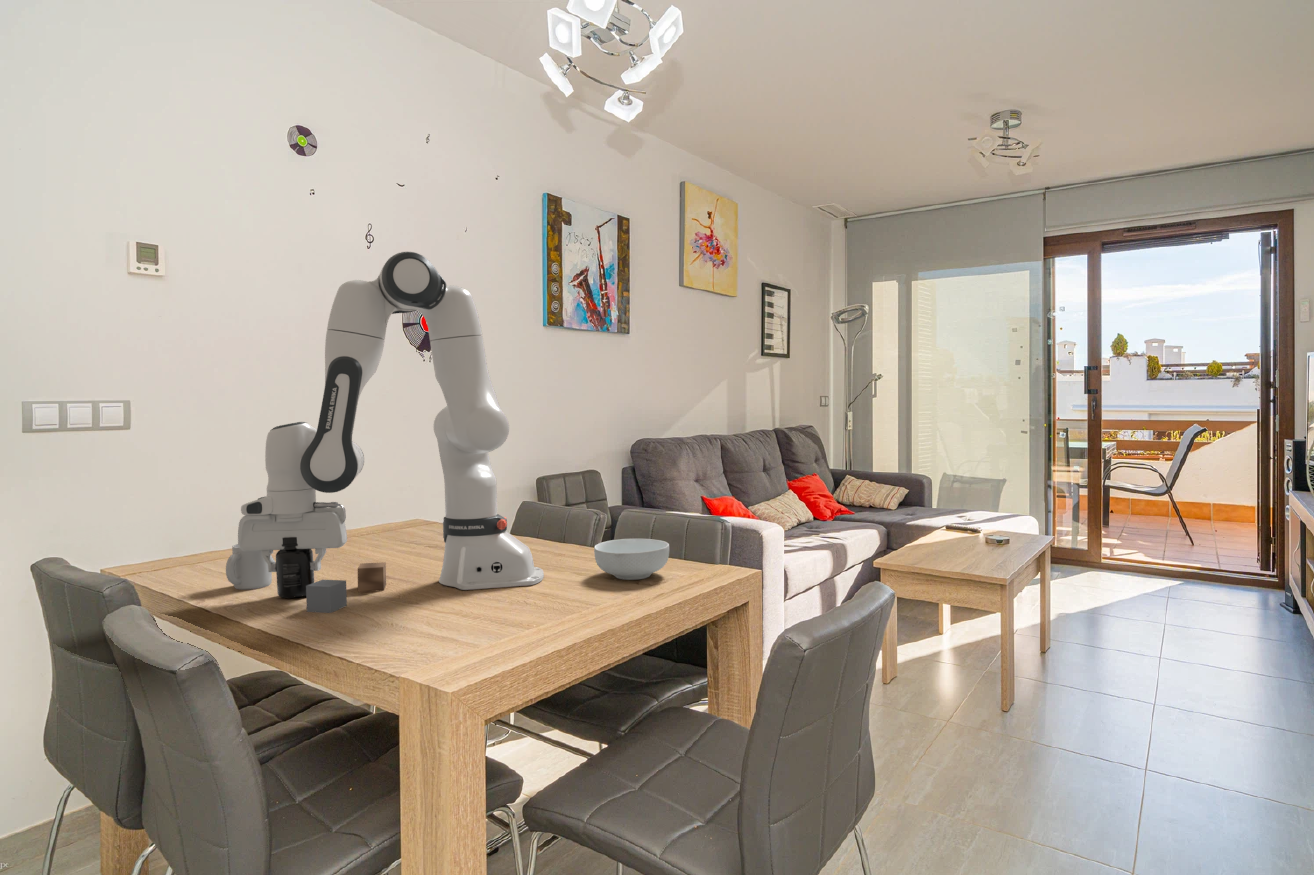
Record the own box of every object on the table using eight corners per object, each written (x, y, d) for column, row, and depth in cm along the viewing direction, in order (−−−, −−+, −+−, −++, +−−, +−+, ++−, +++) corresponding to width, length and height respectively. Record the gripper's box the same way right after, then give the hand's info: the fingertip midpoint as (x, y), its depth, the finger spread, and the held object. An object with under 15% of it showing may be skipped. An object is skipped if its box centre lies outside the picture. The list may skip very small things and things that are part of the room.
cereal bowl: (626, 564, 177) (625, 535, 176) (684, 573, 167) (683, 542, 167) (578, 578, 163) (578, 546, 163) (638, 589, 153) (638, 555, 153)
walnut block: (386, 585, 158) (385, 562, 158) (383, 590, 154) (383, 567, 153) (361, 586, 157) (360, 563, 157) (358, 592, 152) (357, 568, 152)
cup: (279, 582, 161) (278, 542, 160) (241, 594, 151) (240, 551, 151) (253, 580, 163) (251, 540, 162) (214, 592, 153) (212, 549, 153)
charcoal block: (346, 606, 142) (346, 580, 142) (330, 613, 137) (330, 586, 137) (323, 605, 143) (322, 579, 143) (306, 612, 138) (306, 585, 138)
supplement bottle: (322, 590, 152) (319, 533, 151) (296, 599, 145) (293, 539, 144) (296, 588, 154) (293, 531, 153) (269, 597, 147) (266, 537, 147)
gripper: (350, 499, 152) (352, 565, 153) (247, 502, 151) (250, 569, 152) (339, 503, 146) (342, 572, 147) (232, 506, 145) (235, 576, 145)
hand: (294, 570), depth 149 cm, fingers closed on supplement bottle, 7 cm apart
